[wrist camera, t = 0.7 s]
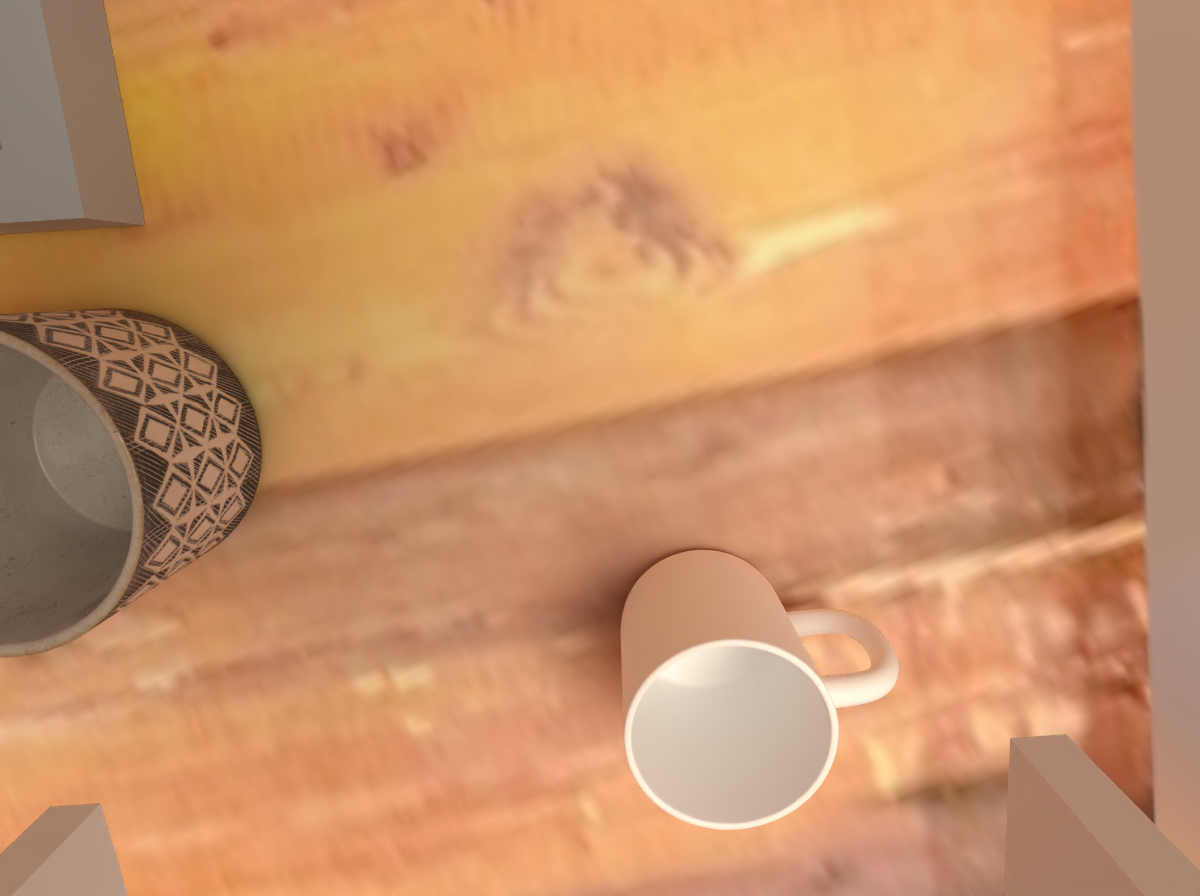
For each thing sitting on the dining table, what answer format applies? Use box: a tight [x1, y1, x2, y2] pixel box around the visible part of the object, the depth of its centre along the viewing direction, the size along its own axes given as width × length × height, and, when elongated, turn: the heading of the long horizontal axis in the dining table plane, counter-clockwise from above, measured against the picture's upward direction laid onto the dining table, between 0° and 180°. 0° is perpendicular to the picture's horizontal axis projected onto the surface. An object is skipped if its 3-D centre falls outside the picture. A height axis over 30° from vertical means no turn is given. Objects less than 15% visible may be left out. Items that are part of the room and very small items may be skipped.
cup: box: [621, 550, 899, 830], centre depth 33 cm, size 8×12×10 cm
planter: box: [0, 309, 261, 657], centre depth 31 cm, size 13×13×10 cm
